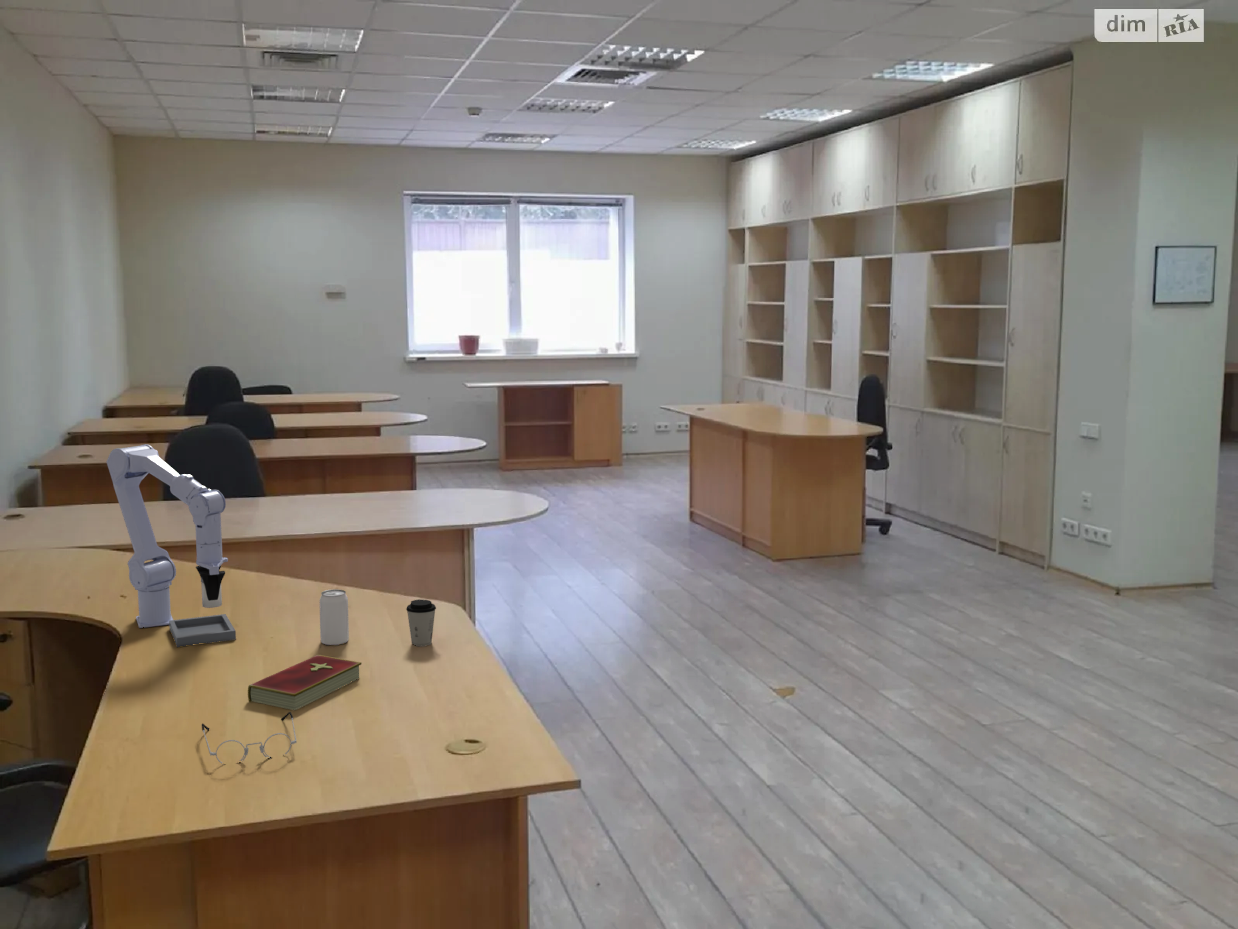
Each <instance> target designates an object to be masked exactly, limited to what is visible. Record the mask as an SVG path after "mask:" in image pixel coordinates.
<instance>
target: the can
mask: <svg viewBox="0 0 1238 929" xmlns="http://www.w3.org/2000/svg"><path fill="white" fill-rule="evenodd" d="M346 593H347V591H346V590H343V589H338V588H337V589H336V588H334V589H328V590H327V589H326V590H323V591H322V592H321V593H320V594H321V595H320V598H319V629H320V630H319V631H320V643H322V645H324V644H325V645H324V646H329V645H335V646H340V645H339V644H342V645H344V644H343V643H345V644H346V643H348V641H349V640H350V638H349V637H350V636H349V635H350V634H349V632H350V630H349V599H348V596H347V594H346Z"/></svg>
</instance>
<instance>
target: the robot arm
mask: <svg viewBox="0 0 1238 929" xmlns="http://www.w3.org/2000/svg"><path fill="white" fill-rule="evenodd" d="M106 465H107V468H108V471H109V474H110V478H111V481H112V484H113V489H114V491H115V495H116V499H117V502H118V504H119V508H120V511H121V514H122V517H123V521H124V523H125V526H126V530H127V533H128V537H129V539H130V543H131V545H132V549H133V555H132V556H131V557H130V559H129V560H128V562H127V565H128V578H129V581H130V584H131V585H132V587H133V588H134V590H135V591H137V601H138V602H137V603H138V615H136V616H135V619H136V623H137V625H138V626H137V627H138V628H139V629H142V628H143V627H144V628H151V627H159V626H167V625H168V626H169V621H171V620H174V618H173V616H172V613H171V595H170V594H171V593H170V586H172V584H173V582H172V581H173V580H174V579H175V578H176V576H177V568H176V565H175V563H174V561H173V560H172V558H171V557H170V554H169V552H168V551H167V550H166V549H164V548H162V547H160V546H159V545H158V543H157V540H156V537H155V533H154V529H153V527H152V524H151V522H150V517H149V515H148V514H149V513H148V512H147V508H146V505H145V502H144V499H143V495H142V492H141V489H140V484H141V482H142V481H143V480H144V479H145V477H147V476H148V474H150V475H152V476H153V477H154V478H156V479H158V480H159V481H161V482H163V483H164V484H165V485H167V486H169V487H170V488H169V490H170V493H171V494H172V495H173V496H175V497H176V498H177V499H179V500H180V501H181V502H183V503H184V504H186V506H188V510H189V512H190V514H191V516H192V522H193V524H194V526H195V544H196V547H195V548H196V549H195V550H196V560H195V564H196V566H195V569H196V570H197V572H198V574H199V576H200V577H199V578H201V577H202V579H203V582H204V585H205V589H206V594H207V598H208V600H209V601H211V600H218V596H219V591H220V585H221V586H222V582H223V579H224V577H225V576H226V575H225V574H226V571H225V570H221V568H222V565H223V564H224V563H227V562H228V561H229V558H228V557H223V541H222V540H223V539H222V538H223V537H222V516H221V514H222V513H223V512H224V511H225V509H226V505H227V504H226V498H225V496H224V495H223V493H222V492H221V491H220V490H219V489H210V488H208V487H206V486H205V485H202V484H201V483H200V482H199V481H198V480H196V479H195V478H194V476H193V475H191V474H185V473H184V474H179V472H177V471H176V470H175V469H174V468H173V467H171V465H169V464H168V463H167V462H166V461H165V460H163V459H162V458H161V457H160V454H159V451H158V450H157V449H155V448H154V447H153V446H151V445H150V444H148V443H147V444H141V445H136V446H129V447H127V446H126V447H121V448H120V447H117V448H113V449H112V450H111V451H110V453H109V455H108V458H107V459H106ZM147 561H148V562H147Z"/></svg>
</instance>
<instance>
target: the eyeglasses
mask: <svg viewBox="0 0 1238 929" xmlns="http://www.w3.org/2000/svg"><path fill="white" fill-rule="evenodd" d="M288 716H290V719H291V722H292V729H293V730H292V731H293V734H294V735H293V736H294V740H291V737H289V735H288V734H285V733H282V732H277V733H274V734H272V735H270V736H268V738H267V739H266V740H265V741H264V744H263V742H262V741H260V742H253V743H247V744H246V745H245V746H244V744H243V743H242V742H240V741H238V740H235V739H228V740H225V741H223V742H221V743H220V744H219V745H218V747H217V748H216V751H215V752H213V751H211V748H210V745H209V742H208V738H207V735H206V732H205V731H208V730H209V729H210V727H208V726H206V725H205V723H201V730H202V733H203V734H204V735H203V736H204V739H205V742H206V745H207V749H208V752H209V756H215V757H216V759H217V761H218V762H219V763H220V764H222V763H223V762H222V761H221V760H220V759H219V758H218V754H217V753H218V750H219V748H220V747H221V746H222V745H223V744H225V743H227V742H235V743H238V744H240V745H241V746H242V747H243V749H244V750H243V752H244V753H243V756H242V757H241V759H240V760H241V761H242V760H243V761H245V759H246V757H247V756H248V754H249V747H248V746H253V745H257V744H258V745H259V746H258V747H259V751H260V753H261V754H262V755H263V757H265V758H266V757H269V756H270V755H268V754H267V752H266V750H265V745H266V743H267V741H269V740H270V738H272V737H274V736H277V735H283V736H286V737H287V738H288V739H289V744H290V745H289V748H288V750H287V751H286V752H285V753H284V754H286V755H288V753H289V752H290V751H291V748H292V745H294V744H297V742H298V741H297V737H296V736H297V735H296V730H295V724H294V716H293V713H292V712H291V711H288V712H287V713H286V714H285V715H284V716H282V717H281V718H280V720H281V721H282V722H283V721H285V720H286V718H287V717H288ZM205 729H206V730H205ZM209 731H210V730H209ZM269 758H270V757H269Z"/></svg>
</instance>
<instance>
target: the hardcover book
mask: <svg viewBox="0 0 1238 929" xmlns="http://www.w3.org/2000/svg"><path fill="white" fill-rule="evenodd" d="M361 665H362V662H360V661H355V660H350V659H349V660H348V659H343V658H339V657H332V656H327V655H322V654H317V655H314V656H312V657H310V658H308V659H305V660H303V661H301V662H299V663H296V664H294V665H291V666H289V667H288V668H285V669H282V670H281V671H278V672H275V673H274V674H271V675H269V676H266V677H264V678H262V679H261V680H258V681H256V682H252V683H250V684H248V687H247V698H248V699H247V700H248V702H249V703H251V702H254V703H258V704H262V705H268V706H273V707H277V708H282V709H286V710H291V711H297V710H299V709H301V708H303V707H305V706H307V705H309V704H312V703H313V702H316V701H317V700H319V699H321V698H323V697H325V696H327V695H328V694H329V695H330V694H331V693H333V692H335V691H337V690H339V689H341V688H343V687H345V686H347V685H349V684H351V683H352V682H351V681H353V682H355V681H357V680H359V679H360V666H361ZM358 678H359V679H358ZM356 679H357V680H356ZM350 682H351V683H350ZM346 684H347V685H346ZM344 685H345V686H344ZM342 686H343V687H342ZM338 688H339V689H338ZM336 689H337V690H336ZM332 691H333V692H332Z"/></svg>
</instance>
